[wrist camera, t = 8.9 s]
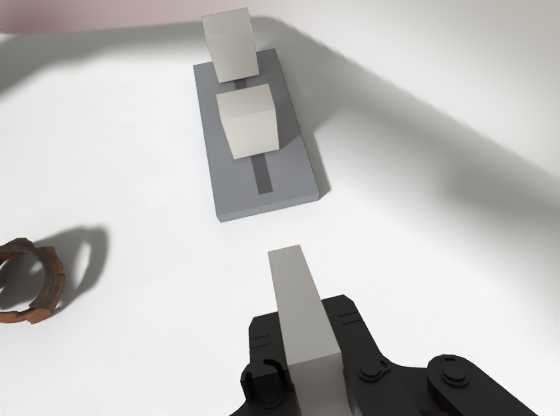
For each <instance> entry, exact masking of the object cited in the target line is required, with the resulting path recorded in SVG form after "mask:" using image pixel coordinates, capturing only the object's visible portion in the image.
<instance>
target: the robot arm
mask: <svg viewBox="0 0 560 416" xmlns="http://www.w3.org/2000/svg"><path fill="white" fill-rule="evenodd" d="M268 256H269V262H270V268H271V273H272V279H273V285H274V291H275V296H276V302H277V308H278V311H277V312H273V313H269V314H265V315H261V316H257V317H254V318H253V320H252V322H251V324H250V326H249V349H250V350H249V352H250V363H249V364H248V365H247V366H246V368H245V369H244V371H243V372H242V375H241V379H240V383H241V386H242V389H243V392H244V395H245V398H246V401H245V402H244V404H243V405H242V406H241V407H240V408H239V409H238V410H237V411H235V412H234V413H233V414H231V415H229V416H538V415H537V414H535V413H534V412H533V411H532V410H530V409H529V408H528V407H527V406H525V405H524V404H523V403H522V402H520V401H519V400H518V399H517V398H515V397H514V396H513V395H512V394H511V393H509V392H508V391H507V390H506V389H504V388H503V387H502V386H501V385H499V384H498V383H497V382H496V381H494V380H493V379H492V378H491V377H490V376H488V375H487V374H486V373H485V372H483V371H482V370H481V369H480V368H478V367H477V366H476V365H475V364H473V363H472V362H470V361H468V360H467V359H465V358H463V357H459V356H456V355H447V354H443V355H440V356H436V357H434V358H433V359H432V360H431V361H429V363H428V366H427V368H418V367H405V366H400V365H397V364H395V363H393V362H391V361H390V360H389V359H388V358H386V357H384V356H383V355H382V353H381V352H380V350H379V349H378V347H377V345H376V343H375V341H374V339H373V337H372V335H371V334H370V332H369V330H368V328H367V326H366V324H365V322H364V321H363V319H362V317H361V315H360V313H359V312H358V309H357V308H356V306H355V304H354V302H353V301H352V300H351V299H349V298H348V297H346V296H345V295H344V294H343V295H339V296H335V297H331V298H327V299H323V300H321V299H320V296H319V294H318V291H317V289H316V286H315V284H314V281H313V278H312V276H311V273H310V271H309V268H308V265H307V263H306V260H305V258H304V255H303V253H302V250H301V247H300V245H295V246H291V247H287V248H282V249H278V250H274V251H270V252H268Z"/></svg>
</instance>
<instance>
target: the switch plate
mask: <svg viewBox="0 0 560 416" xmlns="http://www.w3.org/2000/svg"><path fill="white" fill-rule="evenodd" d="M256 55H257V62H258V69H259V75H255V76H250V77H246V78H241V79H236V80H231V81H227V82H222V83H219V81H218V77H217V74H216V71H215V67H214V64H213V61H212V62H207V63H203V64H198V65H193V68H194V75H195V81H196V87H197V94H198V100H199V107H200V113H201V119H202V126H203V132H204V139H205V145H206V151H207V158H208V164H209V171H210V177H211V183H212V190H213V196H214V203H215V209H216V215H217V218H218V219H219V221H220V223H221V222H226V221H230V220H235V219H239V218H243V217H248V216H252V215H256V214H261V213H265V212H270V211H274V210H278V209H283V208H287V207H291V206H296V205H300V204H305V203H309V202H313V201H318V200H319V190H318V187H317V183H316V180H315V177H314V174H313V170H312V167H311V164H310V161H309V157H308V154H307V151H306V148H305V144H304V141H303V138H302V135H301V131H300V128H299V125H298V122H297V119H296V115H295V112H294V109H293V106H292V102H291V99H290V96H289V93H288V89H287V86H286V83H285V80H284V76H283V73H282V70H281V67H280V63H279V60H278V57H277V54H276V50H275V49H270V50H265V51H260V52H256ZM264 84H268V85H269V88H270V92H271V95H272V99H273V103H274V106H275V111H276V121H277V131H278V141H279V150H274V151H269V152H265V153H260V154H256V155H251V156H247V157H242V158H238V159H234V158H233V155H232V152H231V149H230V146H229V143H228V140H227V137H226V134H225V131H224V128H223V125H222V122H221V118H220V113H219V108H218V102H217V97H216V95H217V94H221V93H226V92H231V91H236V90H240V89H245V88H250V87H254V86H259V85H264Z"/></svg>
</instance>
